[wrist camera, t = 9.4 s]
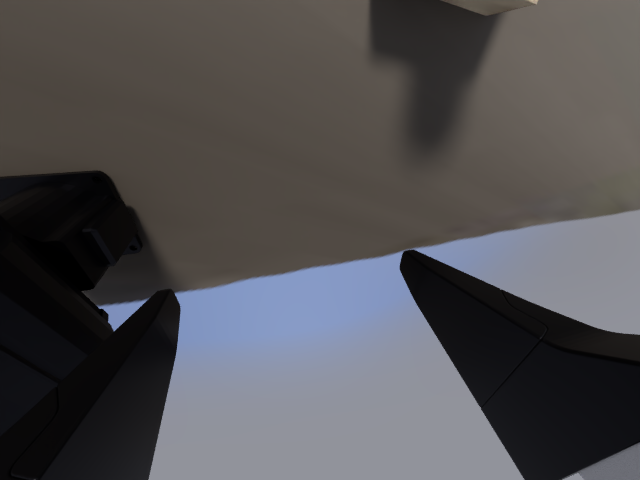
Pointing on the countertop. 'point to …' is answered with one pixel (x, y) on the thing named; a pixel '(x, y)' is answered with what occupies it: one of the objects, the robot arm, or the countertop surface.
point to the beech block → (491, 5)
